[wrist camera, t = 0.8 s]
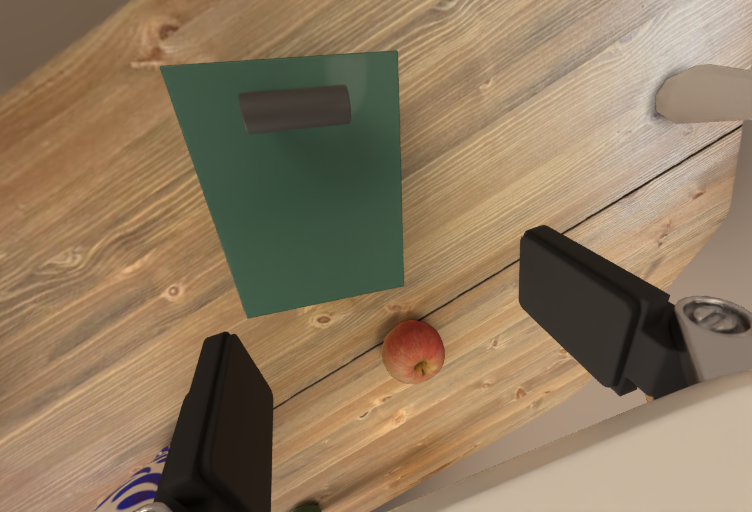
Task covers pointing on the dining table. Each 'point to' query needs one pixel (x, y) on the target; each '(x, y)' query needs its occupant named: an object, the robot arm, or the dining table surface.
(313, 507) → the character mug
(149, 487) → the vase
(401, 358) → the apple
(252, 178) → the lid
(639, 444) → the robot arm
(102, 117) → the dining table surface
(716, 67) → the salt shaker
